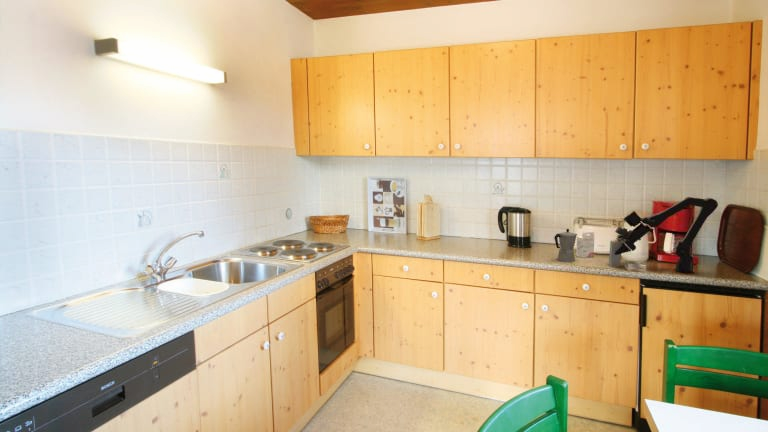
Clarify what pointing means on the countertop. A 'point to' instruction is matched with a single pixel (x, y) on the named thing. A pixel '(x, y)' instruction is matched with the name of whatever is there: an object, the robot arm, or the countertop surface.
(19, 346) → the countertop surface
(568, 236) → the coffeepot
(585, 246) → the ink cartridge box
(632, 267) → the rail dock
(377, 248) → the countertop surface
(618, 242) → the block
